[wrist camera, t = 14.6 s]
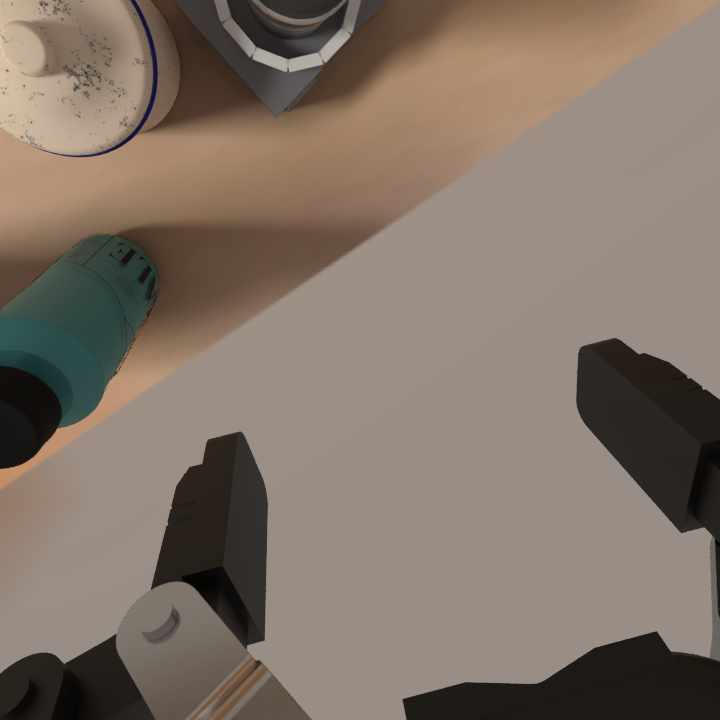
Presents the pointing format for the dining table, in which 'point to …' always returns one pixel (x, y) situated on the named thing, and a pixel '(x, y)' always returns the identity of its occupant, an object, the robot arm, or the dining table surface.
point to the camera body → (275, 46)
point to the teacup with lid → (84, 73)
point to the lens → (292, 15)
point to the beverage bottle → (69, 339)
